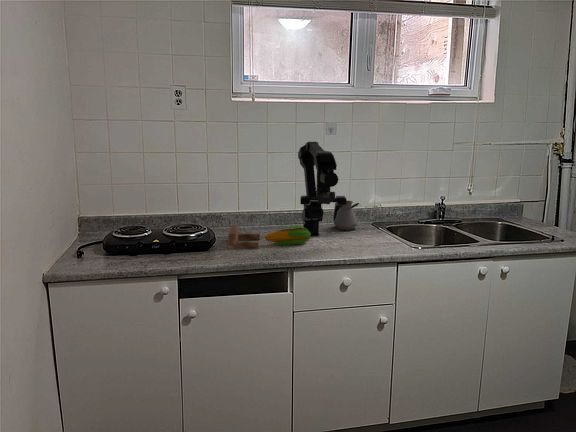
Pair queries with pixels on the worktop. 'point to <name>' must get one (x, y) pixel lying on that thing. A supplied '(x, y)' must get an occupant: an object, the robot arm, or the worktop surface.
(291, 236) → the corn
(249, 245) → the guide bay
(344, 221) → the coffee pot
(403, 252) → the worktop surface
